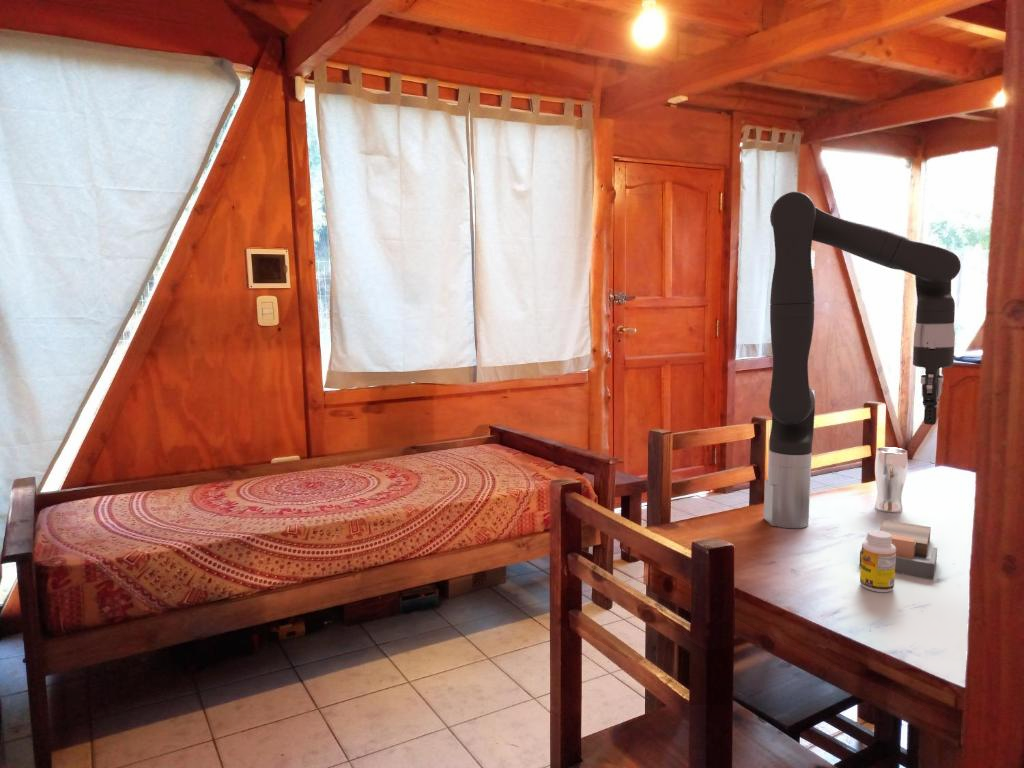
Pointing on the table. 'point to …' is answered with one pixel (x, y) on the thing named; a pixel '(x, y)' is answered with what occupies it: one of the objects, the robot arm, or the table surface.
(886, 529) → the walnut board
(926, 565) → the charcoal tray
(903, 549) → the terracotta tile
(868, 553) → the supplement bottle
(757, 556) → the table surface
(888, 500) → the beer glass
